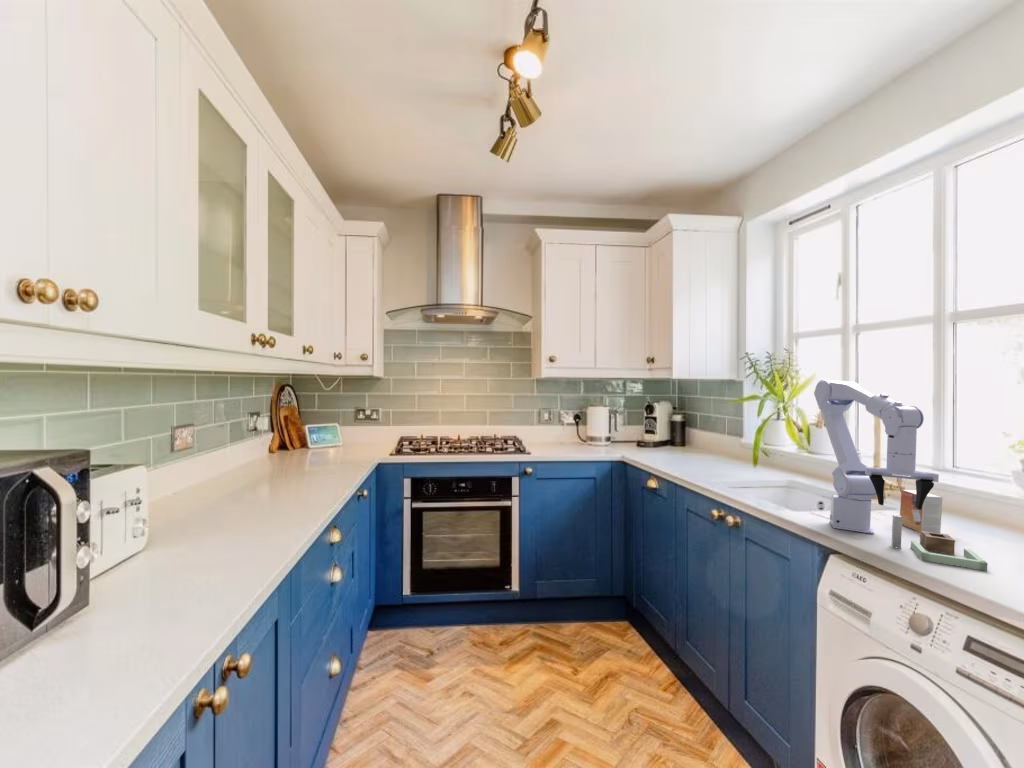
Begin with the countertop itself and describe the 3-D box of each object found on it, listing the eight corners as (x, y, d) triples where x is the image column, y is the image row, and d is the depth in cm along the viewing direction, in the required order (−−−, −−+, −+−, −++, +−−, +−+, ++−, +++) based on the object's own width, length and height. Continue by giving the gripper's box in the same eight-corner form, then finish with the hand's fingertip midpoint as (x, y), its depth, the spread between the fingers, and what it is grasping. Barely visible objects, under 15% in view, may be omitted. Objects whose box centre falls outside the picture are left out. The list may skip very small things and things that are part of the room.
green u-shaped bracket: (922, 560, 113) (922, 552, 113) (910, 547, 122) (910, 540, 122) (987, 571, 107) (987, 563, 107) (970, 556, 116) (970, 549, 116)
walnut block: (926, 550, 120) (926, 536, 120) (919, 543, 125) (920, 530, 125) (954, 554, 118) (954, 540, 118) (946, 547, 122) (947, 534, 122)
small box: (898, 524, 143) (900, 489, 142) (917, 525, 142) (919, 490, 142) (920, 533, 135) (922, 496, 134) (941, 533, 134) (943, 496, 134)
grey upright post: (892, 547, 122) (894, 516, 121) (891, 545, 123) (892, 514, 123) (900, 548, 121) (902, 517, 121) (899, 546, 122) (900, 515, 122)
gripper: (869, 452, 121) (867, 505, 121) (943, 458, 115) (941, 514, 115) (863, 449, 128) (862, 500, 128) (933, 454, 121) (932, 508, 121)
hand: (899, 506), depth 122 cm, fingers open, 7 cm apart
